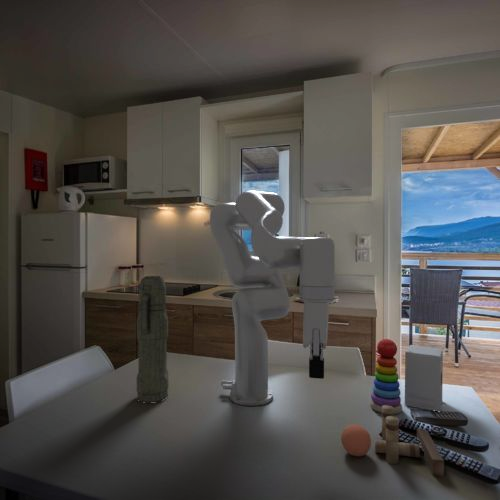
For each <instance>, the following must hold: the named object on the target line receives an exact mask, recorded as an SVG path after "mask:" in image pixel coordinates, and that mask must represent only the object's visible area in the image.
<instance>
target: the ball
mask: <svg viewBox="0 0 500 500" xmlns="http://www.w3.org/2000/svg"><path fill="white" fill-rule="evenodd" d="M340 438H341V439H340V440H341V441H340V442H341V444H342V447H343V448H344V451H346V452H347V453H348V454H349V455H352V456H354V457H362V456H365V455H366V454H367V453H368V452H369V450H370V448H371V445H372V439H371V436H370V433H369V431H368V430H367V429H366V428H365V427H364V426H362V425H360V424H358V423H357V424H356V423H352V424H348V425H346V427H344V429H343V430H342V433H341V436H340Z"/></svg>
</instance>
